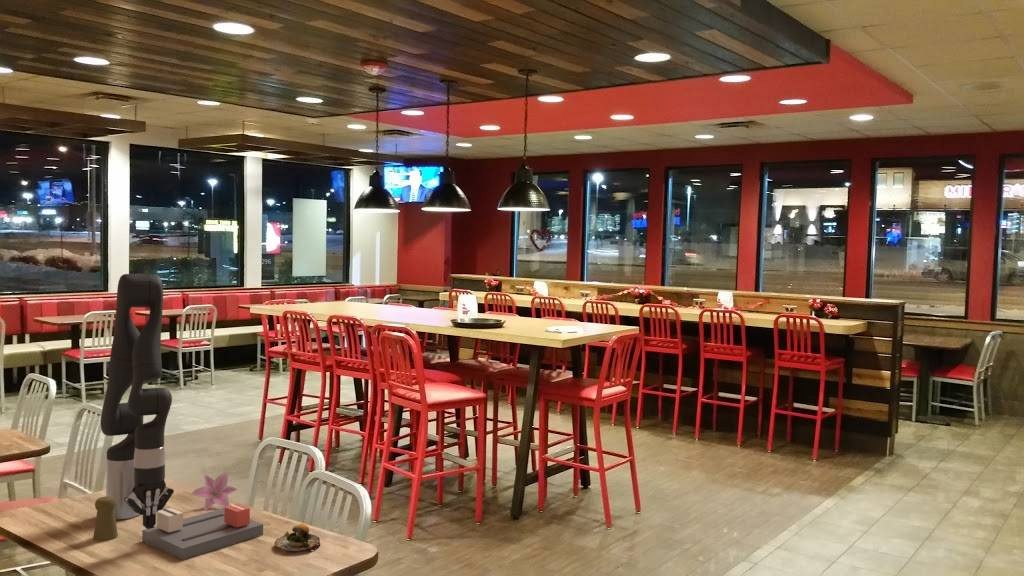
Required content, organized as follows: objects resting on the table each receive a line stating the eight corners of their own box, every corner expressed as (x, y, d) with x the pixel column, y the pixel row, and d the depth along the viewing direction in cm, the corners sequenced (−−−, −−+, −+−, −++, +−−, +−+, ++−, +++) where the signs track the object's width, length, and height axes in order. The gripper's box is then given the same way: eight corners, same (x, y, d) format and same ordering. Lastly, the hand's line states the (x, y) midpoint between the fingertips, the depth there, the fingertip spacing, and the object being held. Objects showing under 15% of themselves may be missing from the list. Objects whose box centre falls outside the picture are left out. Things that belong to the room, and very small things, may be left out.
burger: (266, 546, 212) (266, 519, 212) (304, 536, 221) (304, 509, 220) (290, 559, 204) (290, 531, 204) (329, 547, 213) (329, 520, 212)
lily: (185, 511, 241) (188, 488, 236) (205, 486, 251) (209, 464, 247) (222, 525, 240) (226, 502, 236) (240, 499, 251) (245, 477, 247)
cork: (107, 542, 212) (107, 501, 211) (87, 540, 213) (87, 499, 212) (122, 534, 218) (123, 495, 217) (103, 532, 219) (103, 493, 218)
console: (142, 541, 213) (142, 529, 213) (222, 518, 232) (222, 507, 232) (182, 560, 201) (182, 547, 201) (263, 534, 220) (263, 523, 220)
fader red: (224, 522, 219) (224, 506, 219) (237, 519, 222) (237, 502, 222) (236, 527, 216) (237, 511, 215) (249, 523, 219) (249, 507, 219)
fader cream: (156, 527, 214) (157, 510, 214) (170, 523, 217) (171, 507, 217) (168, 532, 210) (168, 515, 210) (182, 528, 214) (182, 512, 213)
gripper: (166, 456, 216) (165, 518, 217) (117, 465, 206) (117, 531, 206) (180, 461, 211) (180, 524, 212) (131, 471, 201) (131, 538, 202)
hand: (149, 527), depth 209 cm, fingers closed
